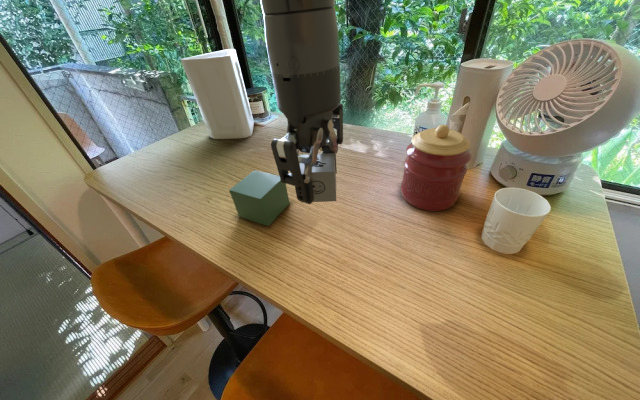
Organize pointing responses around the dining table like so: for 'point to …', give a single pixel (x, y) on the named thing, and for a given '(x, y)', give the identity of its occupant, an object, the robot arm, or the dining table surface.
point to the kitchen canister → (435, 168)
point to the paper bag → (220, 93)
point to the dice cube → (323, 177)
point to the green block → (260, 197)
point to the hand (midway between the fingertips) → (318, 187)
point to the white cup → (513, 219)
